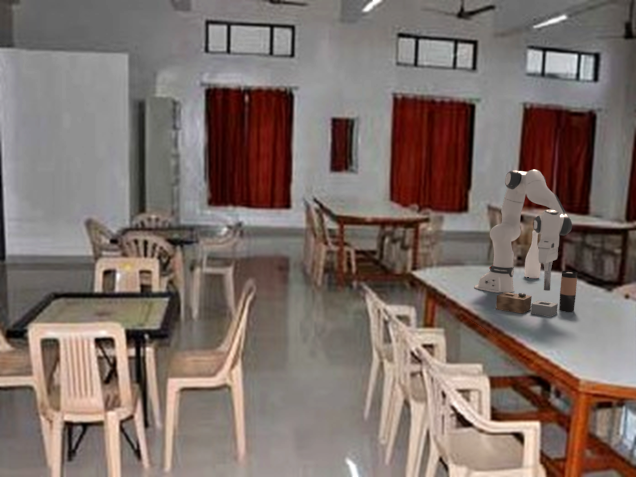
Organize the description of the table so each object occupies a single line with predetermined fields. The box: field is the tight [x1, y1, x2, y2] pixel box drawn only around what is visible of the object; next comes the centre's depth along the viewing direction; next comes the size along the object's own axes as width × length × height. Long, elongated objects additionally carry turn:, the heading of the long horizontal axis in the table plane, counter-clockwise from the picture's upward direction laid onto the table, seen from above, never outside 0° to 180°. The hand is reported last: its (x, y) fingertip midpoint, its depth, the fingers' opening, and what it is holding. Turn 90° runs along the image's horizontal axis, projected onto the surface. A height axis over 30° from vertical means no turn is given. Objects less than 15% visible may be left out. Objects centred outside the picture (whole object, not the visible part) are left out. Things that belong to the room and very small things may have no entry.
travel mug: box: [558, 270, 578, 313], centre depth 362 cm, size 8×8×20 cm
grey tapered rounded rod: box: [543, 262, 552, 292], centre depth 352 cm, size 3×3×14 cm
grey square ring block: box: [530, 300, 559, 318], centre depth 355 cm, size 10×10×5 cm
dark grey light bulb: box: [517, 292, 527, 298], centre depth 359 cm, size 4×4×8 cm
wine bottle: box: [523, 230, 542, 279], centre depth 452 cm, size 10×10×30 cm
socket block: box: [495, 292, 532, 314], centre depth 361 cm, size 14×12×7 cm
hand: (547, 270), depth 352 cm, fingers closed on grey tapered rounded rod, 3 cm apart
